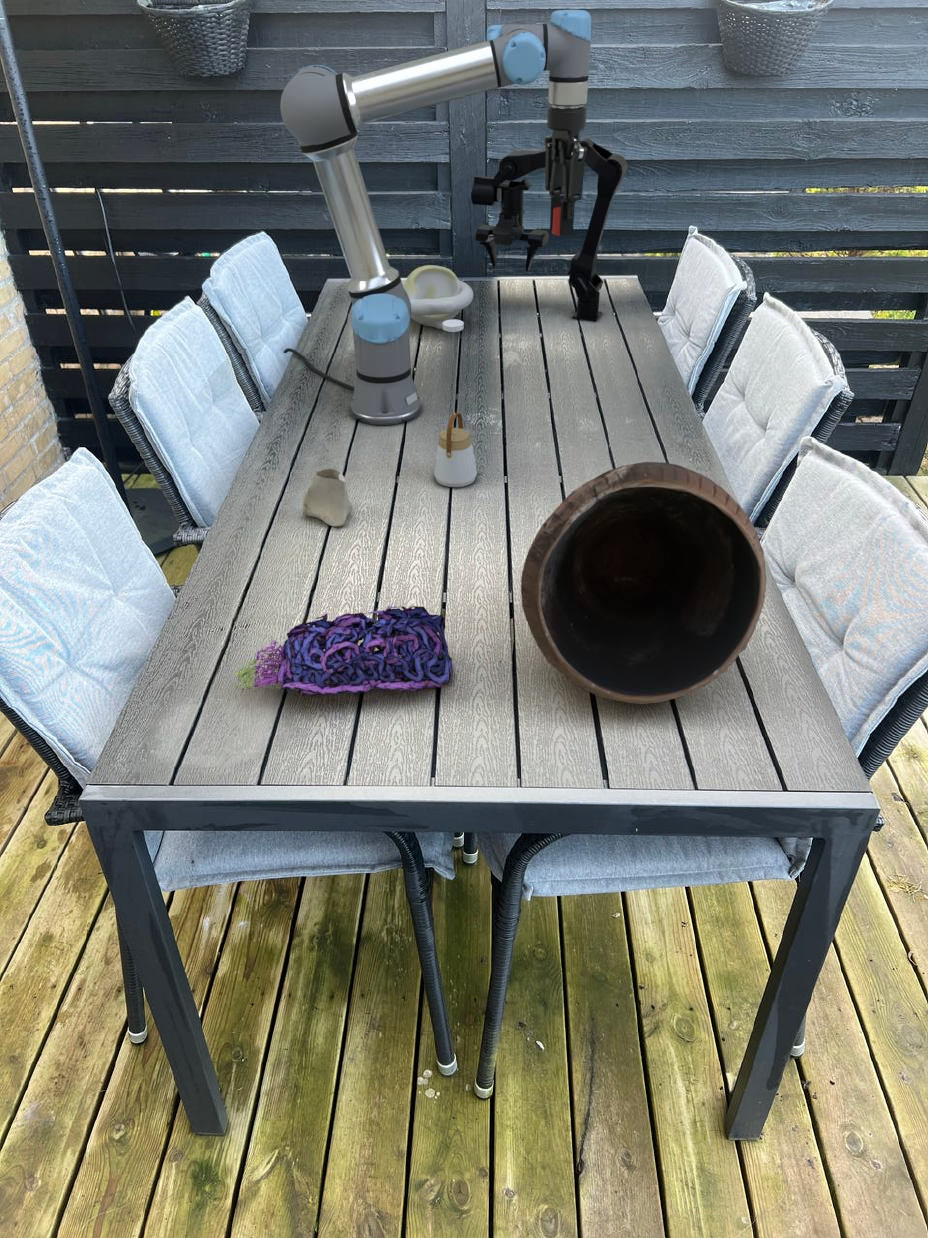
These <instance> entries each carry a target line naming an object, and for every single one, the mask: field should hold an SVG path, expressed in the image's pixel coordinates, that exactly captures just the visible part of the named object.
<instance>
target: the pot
mask: <svg viewBox="0 0 928 1238" xmlns="http://www.w3.org/2000/svg"><path fill="white" fill-rule="evenodd" d="M524 560H525V561H524V563H523V568H522V573H521V580H520V592H521V593H520V595H521V607H522V610H523V611H522V612H523V613H524V616H525V620H526V623H527V626H528V628H529V630H530V634H531V635H532V637H533V639H534V641H535V643H536V645H537V647H538V649H539V650H540V652H541V653H542V655H543V656H544V658H545V659H546V661H547V662H548V664H550V665H551V666H552V667H553V668H555V669H556V670H557V671H558V672H559V673H560V674H561V675H563V676H564V677H565V678H566V679H567V680H568V681H570V682H571V683H572V684H574V685H576V686H577V687H580V688H581V689H583V690H585V691H587V692H589V693H591V694H593V695H595V696H598V697H601V698H603V699H606V700H611V701H615V702H623V703H629V704H635V705H647V704H657V703H664V702H668V701H671V700H674V699H678V698H682V697H685V696H687V695H689V694H691V693H693V692H695V691H698V690H700V689H701V688H703V687H705V686H708V685H709V684H711V683H712V682H713V681H714V680H716V679H717V678H719V677H720V676H722V675H723V674H724V673H726V672H727V671H728V669H729V667H731V666H732V665H733V664H734V662H735V661H736V660H737V658H738V657H739V656H740V654H741V653H743V651H745V650H746V649H747V647H748V644H749V642H750V640H751V639H752V636H753V634H754V633H755V630H756V628H757V624H758V622H759V620H760V617H761V614H762V610H763V608H764V605H765V600H766V591H767V569H766V559H765V553H764V549H763V547H762V544H761V541H760V537H759V533H758V531H757V529H756V528H755V526H754V524H753V522H752V521H751V519H750V517H749V515H748V514H747V513H746V512H745V510H744V509H743V508H742V506H741V505H740V504H739V503H738V501H736V500H735V499H734V497H732V496H731V495H730V493H728V492H727V491H726V490H725V489H724V488H723V487H722V486H721V485H719V484H718V483H717V482H714V480H712V479H711V478H709V477H707V476H706V475H705V476H704V475H703V474H701V473H699V472H697V471H694V470H692V469H690V468H687V467H684V466H681V465H679V464H675V463H669V462H662V461H661V462H660V461H658V462H657V461H642V462H636V463H632V464H631V463H630V464H626V465H621V466H619V467H615V468H612V469H609V470H607V471H605V472H603V473H601V474H599V475H598V476H596V477H594V478H592V479H590V480H588V481H586V482H585V483H583V484H581V485H580V486H579V487H577V488H575V489H574V490H573V491H572V492H571V493H569V495H567V496H566V497H565V498H564V499H563V501H562V502H561V503H560V504H559V505H558V506H557V507H556V508H555V509H554V511H553V512H552V513H551V514H550V515H549V516H548V517H547V518H546V520H545V521H544V522H543V524H541V526H540V528H539V530H538V531H537V533H536V535H535V536H534V539H533V541H532V542H531V544H530V547H529V548H528V551H527V554H526V557H525V559H524Z"/></svg>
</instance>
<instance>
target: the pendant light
mask: <svg viewBox="0 0 928 1238" xmlns="http://www.w3.org/2000/svg"><path fill="white" fill-rule="evenodd" d="M464 324H465V323H464V321H462V320H460V319H455V318H453V319H451V320H446V321H444V322H443V328H442V330H443V331H445V332H449V333H452V365H453V366H452V367H453V369H452V370H453V377H455V333H457V332H461V331H462V330H464V327H465V326H464ZM455 391H456V390H455V388H453V413H451V415H450V416H449V419H448V423H447V427H446V428H445V429H443V430H442V431H440V433H439V437H438V442H437V450H436V458H435V464H434V472H433V475H434V479H435V481H436V482H437V483H438V484H439V485H442V486H444V487H449V488H463V487H467V486H469V485H471V484H473V483H474V482H475V480H476V478H477V474H478V470H477V465H476V459H475V453H474V447H473V441H472V438H471V433H470V432H469V431H468V430H467V429H464V424H463V423H464V420H463V416H462V414H461V413H459V412H456V397H455V393H456V392H455ZM456 418H457V427H453V426H454V422H455V419H456Z"/></svg>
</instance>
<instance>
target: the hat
mask: <svg viewBox="0 0 928 1238" xmlns="http://www.w3.org/2000/svg"><path fill="white" fill-rule="evenodd" d="M401 281H402V284H403V288H404V289H405V291H406V292H407V294H408V296H409V299H410V302H411V317H410V319H412V320H413V321H414V322H416V323H417V324H419V325H422V326H424V327H425V326H427V327H434V328H435V329H437V330H441V329H442V330H443V322H444V321H446V320H451V319H455V317H456V316H457V315H458V314H459V313H460V312H461V310H463V309H466V308H467V307H469V305H470V304H471V303H472V302H473V300H474V291H473V289H472V287H471V286H470V285H469V284H468V283H466V282H464V281H462V280H460V279H458V277H457V275H456V274H455V273H454V272H453V270H451V269H450V268H447V267H445V266H440V265H434V264H428V265H422V266H419V267H417V268H415V269H414V270H413V271H411V273H409V275H407V277H406V279H404V280H401Z"/></svg>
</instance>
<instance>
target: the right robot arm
mask: <svg viewBox="0 0 928 1238" xmlns="http://www.w3.org/2000/svg"><path fill="white" fill-rule="evenodd" d="M580 145H581V146H582V147H587V155H586V158H585V165H587V166H588V167H589V168H590V169H591V170H592V171H593V172H594V173H596V174H597V175H598V176H597V182H596V183H597V184H596V185H597V186H596V187H597V188H596V189H597V190H596V192H597V193H596V198H595V202H594V206H593V209H592V213H591V217H590V220H589V224H588V227H587V231H586V234H585V238H584V242H583V244H582V245H583V246H582V247H581V248H582V249H581V251H580V252H576V253H575V254H574V255H573V257H572V258H571V261H570V268H569V270H568V271H567V275H569V276H568V282H569V283H570V286H571V287H572V288H573V289H574V292H575V295H576V298H577V302H576V303H577V305H576V312H575V313H574V314H573V315H572V319H574V320H582V321H589V322H590V321H591V322H596V321H598V319H599V318H600V317H601V316H602V314H603V311H599V309H600V308H599V307H600V297H601V296H600V295H601V292H600V290H601V289H602V287H603V285H604V280H603V279H602V277H601V276H600V275H599V274H598V273H597V268H598V252H599V248H600V245H601V241H602V237H603V234H604V231H605V227H606V224H607V221H608V216H609V214H610V210H611V207H612V202H613V200H614V197H615V195H616V193H617V191H618V189H619V188H620V185H621V183H622V182H623V180H624V177H625V175H626V173H627V170H628V162H627V160H626V158H625V157H624V156H623V155H621V154H619V153H613V152H611V151H610V150H608V149H607V148H605V147H603V146H601V145H599V144H597V143H596V142H594V141H593V140H592V139H591V138H588V137H583V138H582V139H580ZM569 160H571V159H569ZM544 168H546V148H544V149H540V150H515V151H511V152H510V153H508V154H506V155H505V156H504V157H503V158H501V160H500V162H499V165H498V171H497V173H495V175H494V176H483V175H478V174H477V175H475V176H474V177H473V184H472V187H471V191H470V200H471V203H472V205H477V206H491V207H495V206H496V205H497V203H499V202H500V212H499V215H498V221H497V223H495V225H493V224H492V225H491V224H482V225H481V226H479V227H477V228H476V229H475V230H474V241H476V242H479V245H483V247H485V249H486V251H487V253H488V256H489V260H490V262H491V265H492V268H493V269H496V268H497V261H498V245H505V246H510V245H512V244H513V241H521V242H522V241H523V242H527V244H528V245H527V247H525V248H526V262H525V272H526V273H527V272H529V270H530V268H531V266H532V263H533V260H534V258H535V255H536V253H537V252H538V250H540V249H541V248H543V247H544V246H545V245H546V244H548V243H549V240H550V239H549V238H550V235H549V232H548V230H543V229H533V230H532V231H531V232H524V231H525V226H524V214H525V211H526V210H525V209H524V197H525V195H524V193H525V191H529V190H530V189H531V188H533V184H532V183H531V182H530V181H529V180H528V179H527V178H526V177H524V176H526V175H528V174H530V173H532V172H535V171H536V170H539V169H544ZM522 177H524V178H523V179H522V180H517V179H520V178H522ZM506 181H508V182H509V183H504V182H506Z"/></svg>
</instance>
